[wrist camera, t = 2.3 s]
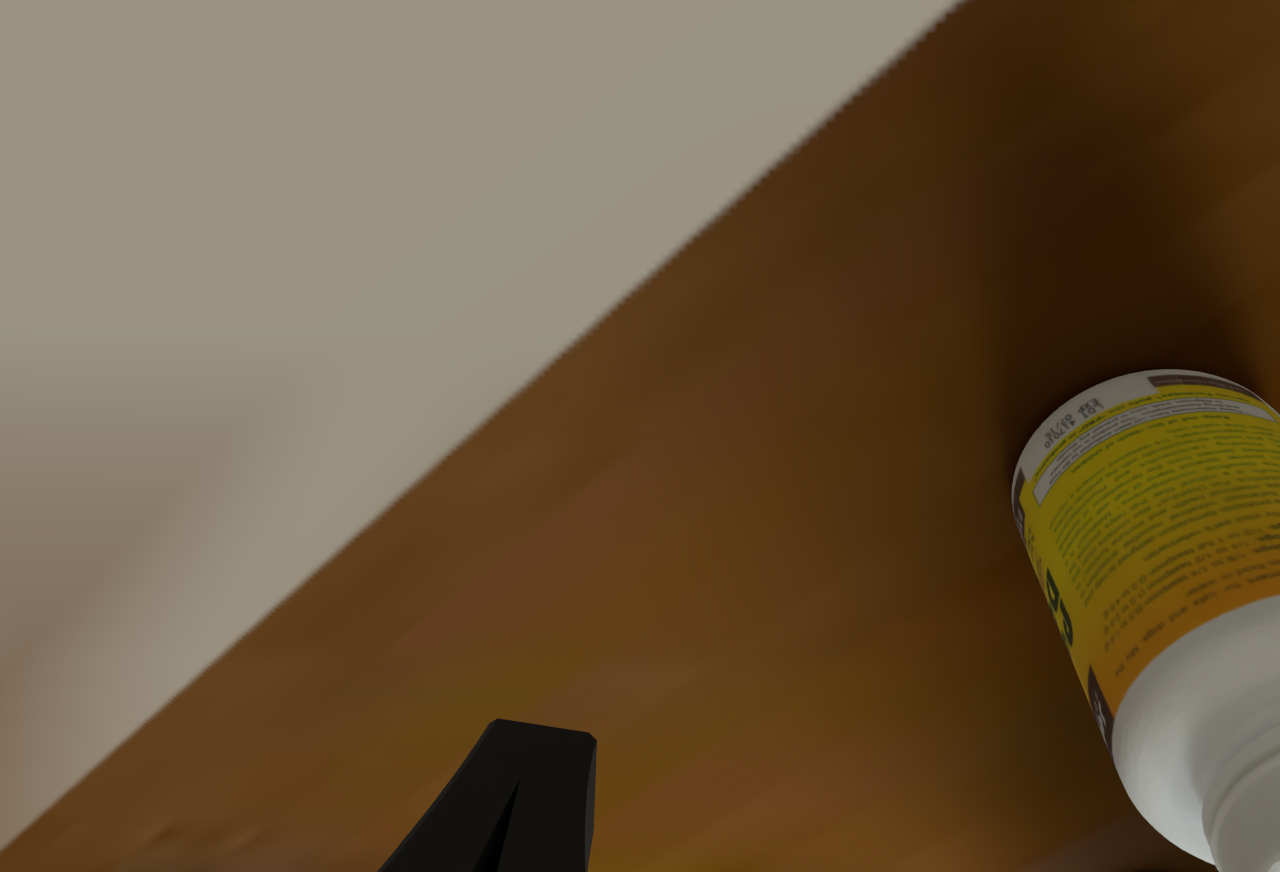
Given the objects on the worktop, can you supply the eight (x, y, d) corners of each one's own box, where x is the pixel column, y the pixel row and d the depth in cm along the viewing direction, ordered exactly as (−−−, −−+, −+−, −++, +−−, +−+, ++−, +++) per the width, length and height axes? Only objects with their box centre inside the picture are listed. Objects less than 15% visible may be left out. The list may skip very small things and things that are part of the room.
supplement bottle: (952, 467, 20) (1087, 874, 11) (1179, 305, 17) (1590, 663, 8) (1101, 610, 21) (1329, 1078, 12) (1332, 478, 19) (1826, 947, 10)
